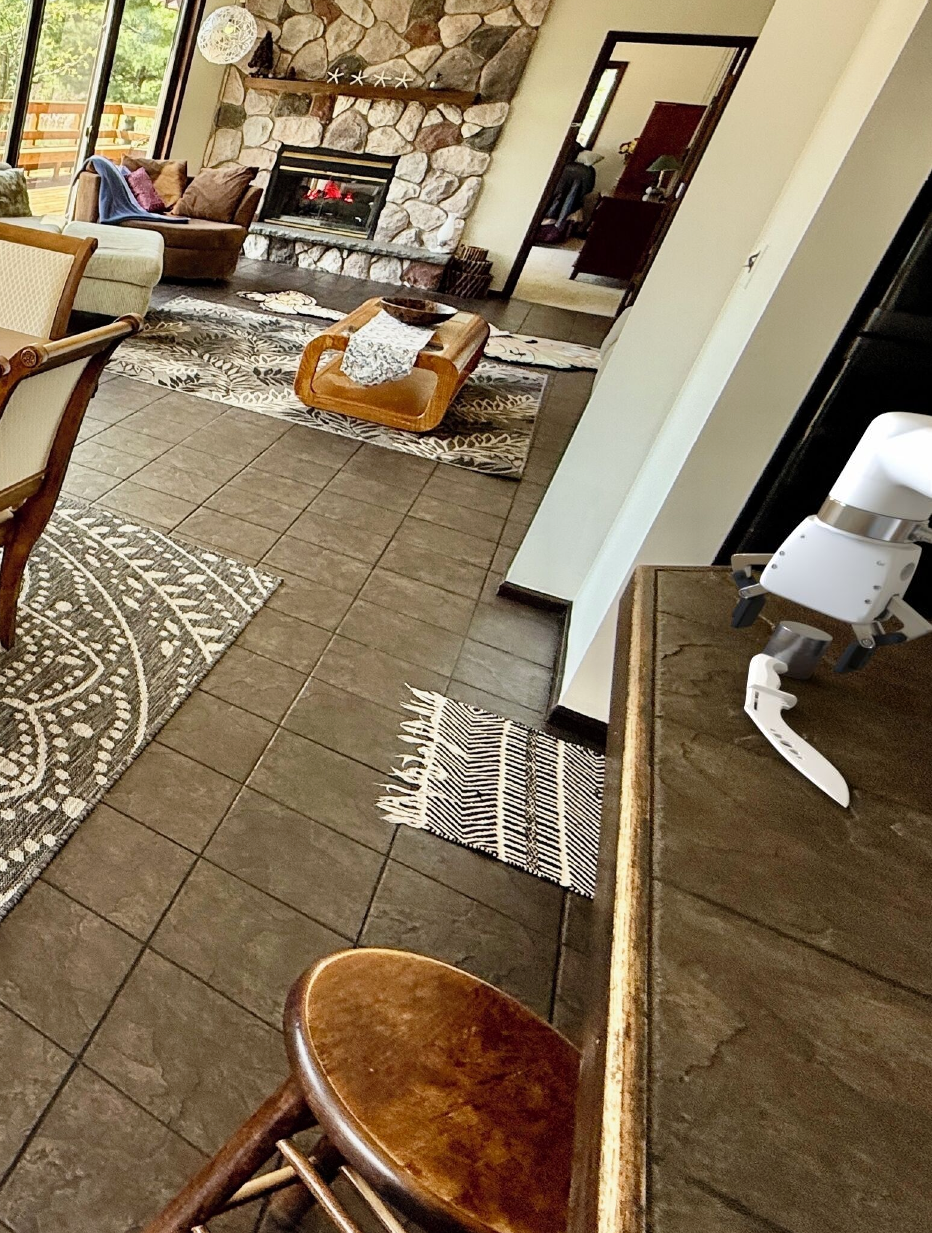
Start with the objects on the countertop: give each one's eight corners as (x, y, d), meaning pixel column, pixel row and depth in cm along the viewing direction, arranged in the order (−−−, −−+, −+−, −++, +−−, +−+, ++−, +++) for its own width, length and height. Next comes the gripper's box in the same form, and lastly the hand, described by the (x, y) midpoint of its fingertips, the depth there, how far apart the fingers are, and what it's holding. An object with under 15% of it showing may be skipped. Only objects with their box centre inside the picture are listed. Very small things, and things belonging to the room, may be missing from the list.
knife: (854, 802, 84) (740, 758, 90) (845, 815, 85) (732, 771, 90) (848, 680, 103) (754, 649, 109) (840, 691, 104) (747, 660, 109)
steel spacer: (817, 677, 107) (841, 637, 105) (796, 681, 106) (819, 642, 104) (771, 656, 111) (793, 618, 109) (749, 661, 110) (771, 622, 108)
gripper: (998, 553, 95) (907, 686, 102) (789, 488, 110) (721, 607, 117) (960, 560, 93) (869, 695, 99) (752, 492, 108) (685, 614, 114)
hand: (790, 648), depth 108 cm, fingers open, 9 cm apart
